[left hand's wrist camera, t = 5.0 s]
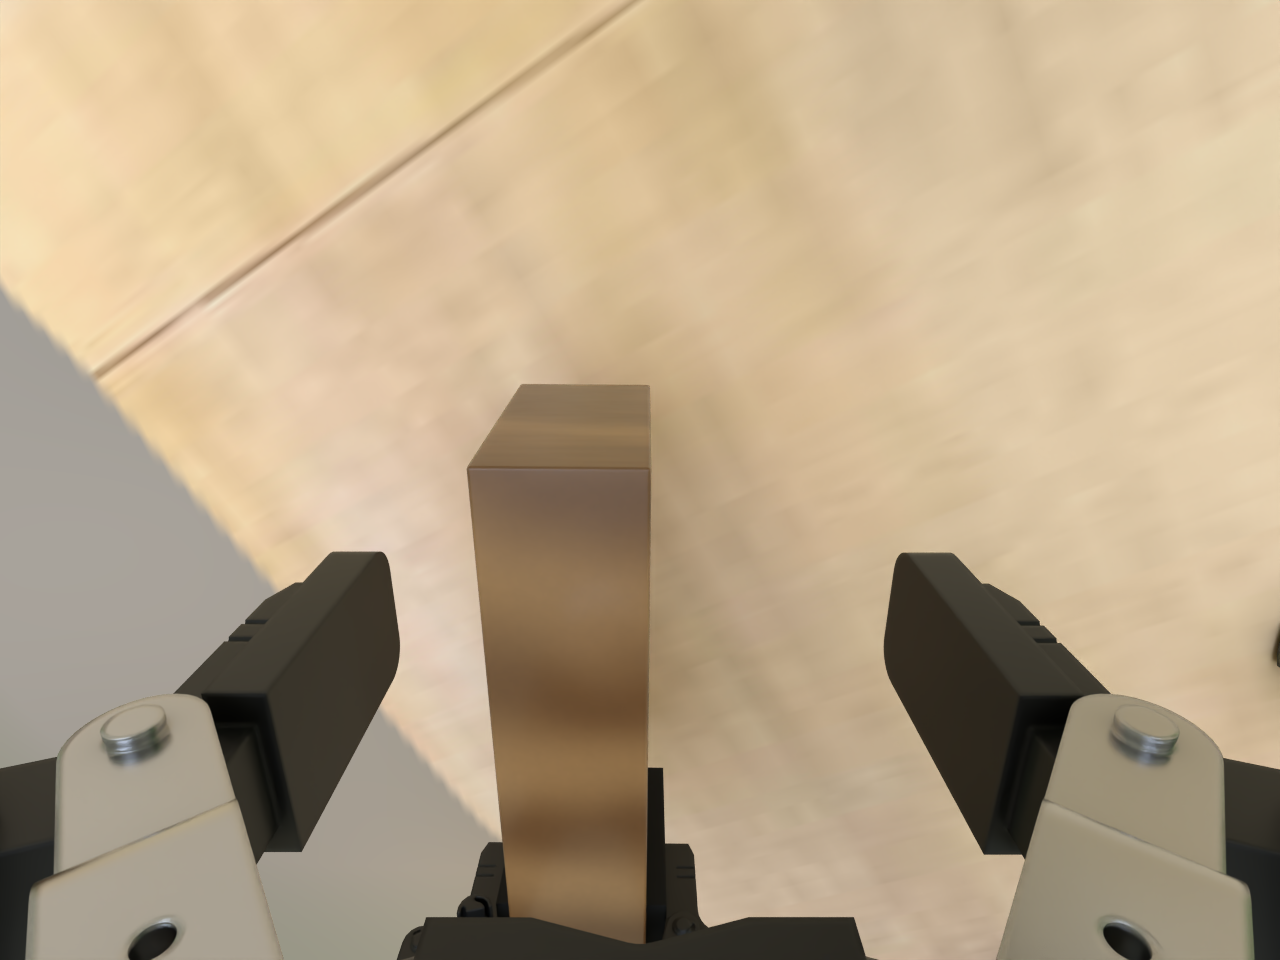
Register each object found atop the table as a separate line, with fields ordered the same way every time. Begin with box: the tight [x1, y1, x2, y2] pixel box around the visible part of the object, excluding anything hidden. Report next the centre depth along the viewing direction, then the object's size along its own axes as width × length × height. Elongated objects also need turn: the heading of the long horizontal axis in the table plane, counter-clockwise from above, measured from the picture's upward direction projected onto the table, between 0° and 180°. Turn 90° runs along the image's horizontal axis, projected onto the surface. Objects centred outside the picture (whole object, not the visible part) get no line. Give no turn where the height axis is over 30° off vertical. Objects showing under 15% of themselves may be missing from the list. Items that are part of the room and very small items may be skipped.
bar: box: [467, 384, 651, 944], centre depth 26 cm, size 22×5×8 cm, turn 0°
